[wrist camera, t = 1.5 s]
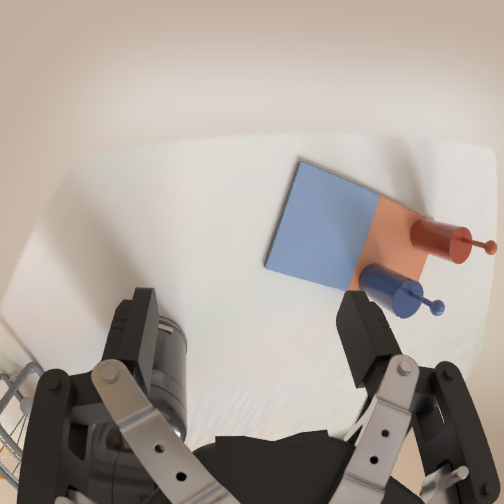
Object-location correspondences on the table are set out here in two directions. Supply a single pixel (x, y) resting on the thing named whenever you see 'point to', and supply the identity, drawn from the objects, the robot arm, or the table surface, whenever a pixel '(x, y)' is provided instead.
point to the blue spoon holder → (395, 291)
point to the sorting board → (341, 232)
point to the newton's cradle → (26, 410)
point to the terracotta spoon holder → (446, 240)
